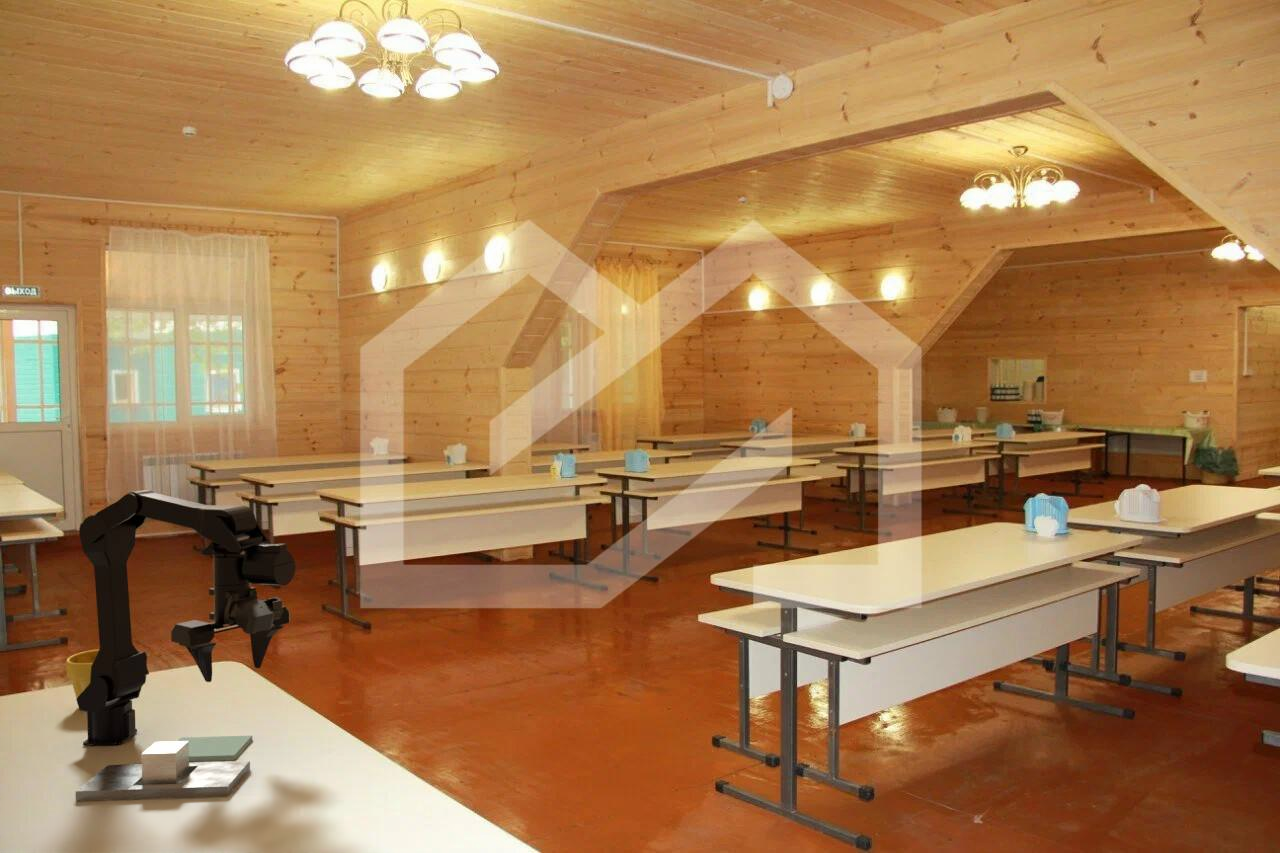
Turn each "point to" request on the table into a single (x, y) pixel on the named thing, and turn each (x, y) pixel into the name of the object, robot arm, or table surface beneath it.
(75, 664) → the plant pot
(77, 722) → the table surface
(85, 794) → the grey flat plate
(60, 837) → the table surface
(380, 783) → the table surface
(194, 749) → the teal pad
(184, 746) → the pale wooden block
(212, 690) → the table surface
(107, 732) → the robot arm
